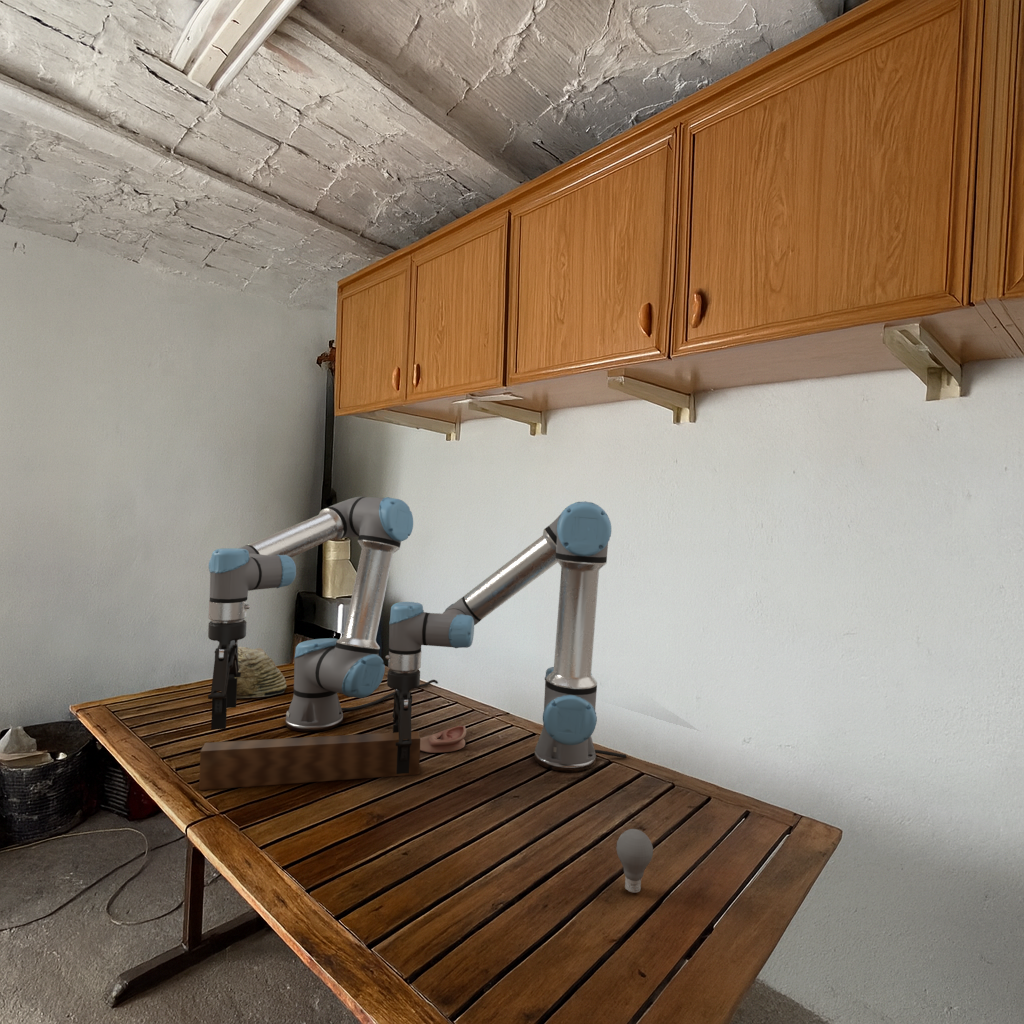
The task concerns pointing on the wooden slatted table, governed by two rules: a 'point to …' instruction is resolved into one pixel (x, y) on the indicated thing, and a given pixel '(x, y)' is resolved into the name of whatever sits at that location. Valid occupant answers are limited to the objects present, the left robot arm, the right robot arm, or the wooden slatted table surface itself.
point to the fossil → (258, 674)
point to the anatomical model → (444, 740)
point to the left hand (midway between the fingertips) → (224, 717)
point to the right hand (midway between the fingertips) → (400, 761)
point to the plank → (302, 760)
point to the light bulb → (634, 857)
